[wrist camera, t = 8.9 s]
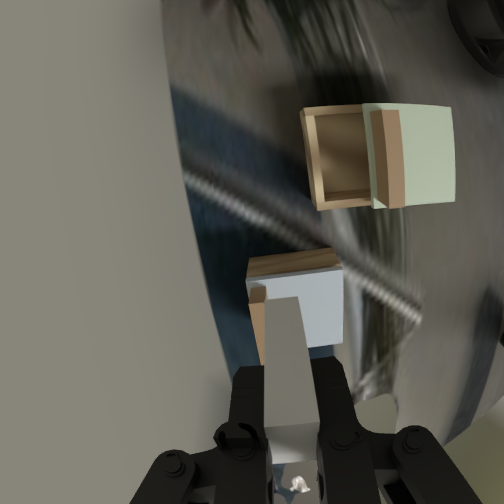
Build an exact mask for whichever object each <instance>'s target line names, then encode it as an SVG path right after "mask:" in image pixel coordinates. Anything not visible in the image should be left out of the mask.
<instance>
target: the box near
mask: <svg viewBox="0 0 504 504" xmlns="http://www.w3.org/2000/svg"><path fill="white" fill-rule="evenodd" d="M299 113H300V119H301V126H302V132H303V139H304V146H305V153H306V161H307V168H308V176H309V185H310V193H311V201H312V202H313V204H314V206H315V207H316V209H317V211H320V210H328V209H337V208H346V207H355V206H365V205H371V189H370V174H369V161H368V151H367V141H366V132H365V124H364V117H363V110H362V105H337V106H321V107H308V108H303V109H302V110H301V111H299Z"/></svg>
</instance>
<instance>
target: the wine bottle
mask: <svg viewBox="0 0 504 504" xmlns="http://www.w3.org/2000/svg"><path fill="white" fill-rule="evenodd" d="M501 344H502V345H503V347H504V333H503V335H502V338H501Z"/></svg>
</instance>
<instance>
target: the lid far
mask: <svg viewBox="0 0 504 504" xmlns="http://www.w3.org/2000/svg"><path fill="white" fill-rule="evenodd" d="M245 282H246V287H247V292H248V297H249V309H250V314H251V318H252V323H253V328H254V333H255V338H256V342H257V347H258V352H259V357H260V361H261V365H264V300H267V299H277V298H285V297H294V296H298V299H299V304H300V310H301V315H302V320H303V325H304V331H305V336H306V341H307V347H308V348H309V347H316V346H324V345H331V344H337V343H342V338H343V268H342V266H338V267H330V268H322V269H315V270H307V271H299V272H291V273H283V274H275V275H266V276H258V277H249V278H246V281H245Z"/></svg>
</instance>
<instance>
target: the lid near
mask: <svg viewBox="0 0 504 504" xmlns="http://www.w3.org/2000/svg"><path fill="white" fill-rule="evenodd" d="M362 110H363V117H364V124H365V132H366V141H367V151H368V161H369V174H370V189H371V207H372V208H374V209H376V208H386V207H388V208H389V209H390V208H401V207H405V206H407V205H418V204H429V203H441V202H453V201H455V150H454V135H453V123H452V114H451V107H443V106H432V105H418V104H394V103H364V104H362Z"/></svg>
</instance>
